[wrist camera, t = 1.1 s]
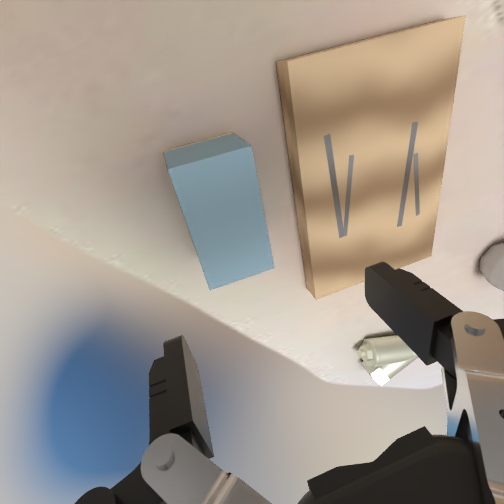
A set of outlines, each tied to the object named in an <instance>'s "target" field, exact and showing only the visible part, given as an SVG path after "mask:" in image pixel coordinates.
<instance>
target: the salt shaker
mask: <svg viewBox="0 0 504 504" xmlns="http://www.w3.org/2000/svg"><path fill="white" fill-rule="evenodd" d="M479 269H480V271H481V272H482V274H483V275H484V277H485V278H486V279H487V281H488V282H489V283H490V284H491V285H493V286H494V287H496V288H498V289H501V290H503V291H504V242H503V243H499V244H496V245H492V246H491V247H490V248H489V249H488V250H487V251H486V253H485V254H484V255H483V256H482V257H481V259H480V266H479Z"/></svg>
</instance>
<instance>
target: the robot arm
mask: <svg viewBox="0 0 504 504" xmlns="http://www.w3.org/2000/svg"><path fill="white" fill-rule="evenodd" d="M365 297H366V300H367V302H368V304H369V306H370V307H371V308H372V309H373V310H374V311H375V312H376V313H377V314H378V315H379V317H380V318H381V319H382V320H383V321H384V322H385V323H386V324H387V325H388V326H389V327H390V328H391V329H392V330H393V331H394V332H395V333H396V334H397V335H398V336H399V337H400V338H401V339H402V340H403V341H404V342H405V343H406V345H407V346H408V347H409V348H410V349H411V350H412V351H413V352H414V353H415V354H416V355H417V356H418V357H419V358H420V359H421V360H422V361H423V362H424V363H425V364H426V365H429V364H432V363H434V362H436V361H438V362H439V363H440V364H441V365H442V369H441V372H442V380H443V387H444V394H445V402H446V410H447V435H431V434H430V433H429V431H428V430H427V429H426V427H425V426H424V427H422V428H420V429H418V430H416V431H413V432H411V433H409V434H407V435H405V436H403V437H401V438H398V439H397V440H396V441H395V442H394V443H392V444H391V445H390V446H389V447H388V448H387V449H386V450H385V451H384V452H383V453H382V454H381V455H380V456H379V457H378V458H377V459H376V460H375V461H373V462H370V463H363V464H355V465H347V466H339V467H336V468H334V469H331V470H329V471H327V472H325V473H323V474H321V475H318V476H316V477H314V478H312V479H310V480H308V481H307V482H308V486H309V489H310V490H309V491H308V492H307V493H306V494H305V495H304V496H303V498H302V499H301V500H300V501H299V503H298V504H504V319H496V320H492V319H491V318H489V317H488V316H486V315H483V314H480V313H477V312H468V311H467V312H463V311H462V310H460V309H459V308H458V307H456V306H455V305H454V304H452V303H451V302H450V301H448V300H447V299H446V298H444V297H443V296H442V295H440V294H439V293H438V292H436V291H435V290H434V289H432V288H430V286H428V285H427V284H426V283H424V282H422V280H420V279H419V278H418V277H416V276H415V275H414V274H412V273H410V272H407V271H405V270H402V269H400V268H398V269H396V270H395V269H394V268H392V267H391V266H390V265H389V264H387V263H386V262H383V261H382V262H379V263H377V264H374V265H371V266H369V267H366V268H365ZM149 386H150V388H149V397H150V399H149V411H150V414H149V416H150V442H149V446H148V448H147V450H146V451H145V453H144V455H143V458H142V461H141V463H140V464H139V465H138V466H137V468H135V470H133V471H132V472H131V473H130V474H129V475H128V476H126V477H125V478H124V479H123V480H122V481H120V482H119V483H118V484H116V485H115V486H114V487H113V488H111V489H108V488H106V487H96V488H94V489H91V490H90V491H88V492H86V493H85V494H84V495H83V496H81V497H80V499H78V501H77V502H76V503H75V504H272V503H270V502H269V501H268V500H266V499H265V498H264V497H263V496H261V495H260V494H259V493H258V492H256V491H255V490H254V489H252V488H251V487H250V486H249V485H247V484H246V483H245V482H244V481H242V480H241V479H240V478H238V477H237V476H235V475H234V474H232V473H226V472H225V471H223V470H222V469H220V468H219V467H218V466H217V465H216V464H214V463H213V462H212V461H211V460H209V459H210V458H212V457H214V454H213V449H212V443H211V437H210V432H209V426H208V421H207V415H206V409H205V404H204V398H203V393H202V387H201V382H200V376H199V371H198V368H197V364H196V362H195V359H194V357H193V355H192V353H191V351H190V349H189V347H188V344H187V342H186V340H185V338H184V336H183V335H181V336H178V337H176V338H173V339H170V340H168V341H165V342H164V357H161V358H158V359H156V360H154V362H153V365H152V367H151V369H150V372H149Z"/></svg>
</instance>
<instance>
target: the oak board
mask: <svg viewBox="0 0 504 504" xmlns="http://www.w3.org/2000/svg"><path fill="white" fill-rule="evenodd" d="M465 17H466V16H460V17H454V18H448V19H442V20H438V21H434V22H430V23H427V24H423V25H419V26H415V27H411V28H407V29H403V30H399V31H395V32H391V33H387V34H384V35H380V36H376V37H372V38H368V39H364V40H360V41H356V42H352V43H348V44H345V45H341V46H337V47H333V48H329V49H325V50H321V51H317V52H313V53H309V54H306V55H302V56H298V57H294V58H290V59H286V60H282V61H278V62H276V67H277V74H278V81H279V89H280V96H281V103H282V111H283V118H284V125H285V132H286V140H287V147H288V154H289V162H290V169H291V176H292V184H293V191H294V198H295V206H296V213H297V220H298V227H299V235H300V242H301V249H302V257H303V264H304V271H305V279H306V286H307V289H308V290H309V291H310V293H311V294H312V295H313V297H314V298H315V299H319V298H322V297H324V296H327V295H330V294H332V293H335V292H338V291H340V290H343V289H346V288H348V287H351V286H353V285H356V284H359V283H361V282H364V281H365V268H366V267H369V266H371V265H374V264H377V263H379V262H382V261H383V262H386V263H387V264H389V265H390V266H391V267H392V268H394V269H395V270H396V269H398V268H401V267H404V266H406V265H409V264H411V263H414V262H417V261H419V260H422V259H425V258H427V257H430V256H431V254H432V247H433V240H434V233H435V226H436V219H437V212H438V205H439V198H440V191H441V184H442V177H443V170H444V163H445V156H446V149H447V142H448V135H449V128H450V121H451V114H452V107H453V101H454V94H455V87H456V80H457V73H458V66H459V59H460V52H461V45H462V38H463V31H464V24H465Z"/></svg>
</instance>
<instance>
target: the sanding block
mask: <svg viewBox="0 0 504 504" xmlns="http://www.w3.org/2000/svg"><path fill="white" fill-rule="evenodd" d="M163 153H164V157H165V161H166V165H167V170H168V172H169V175H170V178H171V181H172V184H173V187H174V189H175V192H176V195H177V198H178V201H179V204H180V207H181V209H182V212H183V215H184V218H185V221H186V224H187V227H188V229H189V232H190V235H191V238H192V241H193V244H194V246H195V249H196V252H197V255H198V258H199V261H200V264H201V266H202V269H203V272H204V275H205V278H206V281H207V284H208V286H209V289H210V290H212V289H215V288H218V287H221V286H224V285H227V284H229V283H232V282H235V281H238V280H241V279H244V278H247V277H250V276H253V275H255V274H258V273H261V272H264V271H267V270H270V269H273V268H275V267H274V262H273V257H272V251H271V246H270V241H269V236H268V230H267V225H266V220H265V215H264V209H263V204H262V199H261V194H260V188H259V183H258V178H257V172H256V167H255V162H254V157H253V151H252V146H251V145H250V144H248V143H247V142H245V141H244V140H242V139H241V138H240V137H238V136H237V135H235V134H234V133H232V132H231V133H227V134H224V135H220V136H216V137H212V138H209V139H205V140H201V141H198V142H194V143H190V144H187V145H183V146H179V147H176V148H172V149H168V150H165V151H163Z"/></svg>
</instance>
